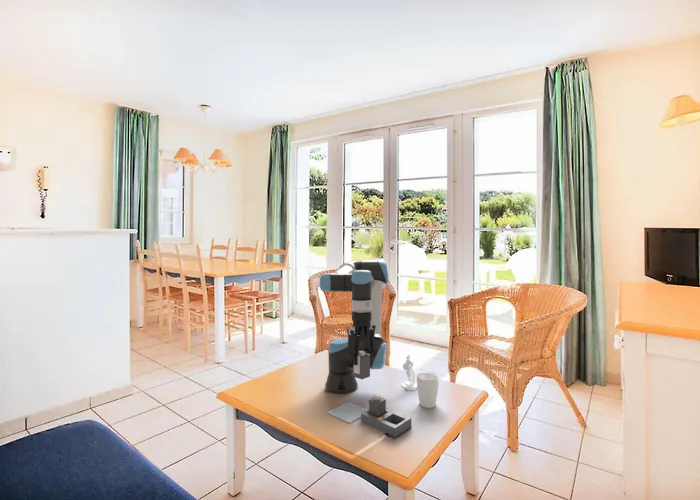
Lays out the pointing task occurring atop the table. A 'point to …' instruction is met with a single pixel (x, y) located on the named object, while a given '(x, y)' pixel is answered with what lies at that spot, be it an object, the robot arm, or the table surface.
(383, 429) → the gray block holder
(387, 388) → the table surface
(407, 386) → the figurine
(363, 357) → the plug
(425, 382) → the cup
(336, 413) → the tray
